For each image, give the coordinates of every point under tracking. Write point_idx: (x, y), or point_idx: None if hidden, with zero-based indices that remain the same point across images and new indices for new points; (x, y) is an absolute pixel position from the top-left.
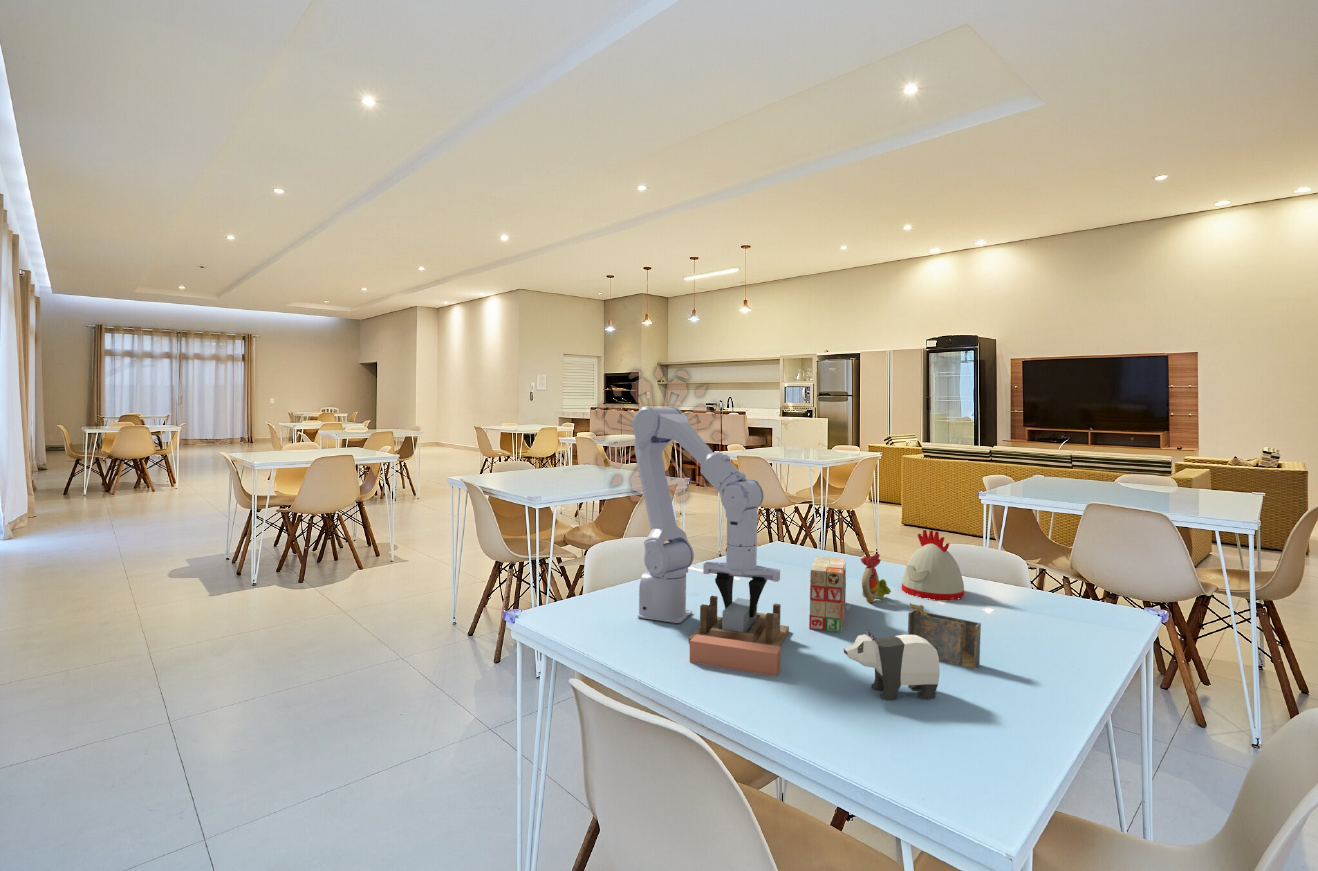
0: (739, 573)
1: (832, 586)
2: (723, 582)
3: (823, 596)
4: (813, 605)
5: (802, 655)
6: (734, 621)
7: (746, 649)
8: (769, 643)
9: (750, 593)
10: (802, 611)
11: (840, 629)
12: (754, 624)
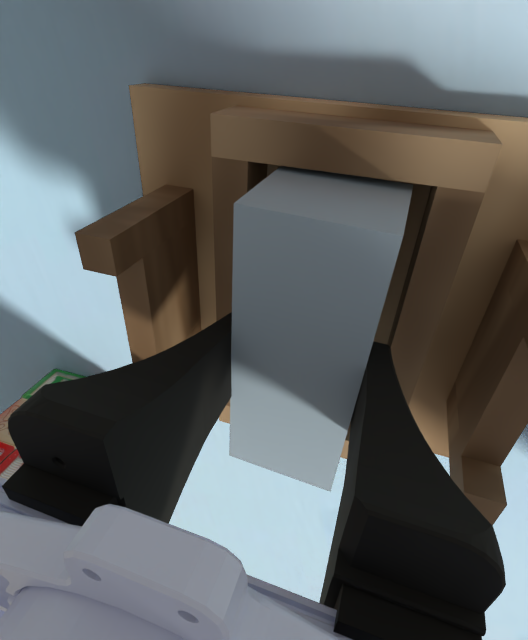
0: (99, 529)
1: None
2: (391, 502)
3: (11, 464)
4: None
5: (62, 142)
6: (315, 195)
7: None
8: (175, 183)
9: (166, 382)
10: (185, 499)
11: (47, 374)
12: None
